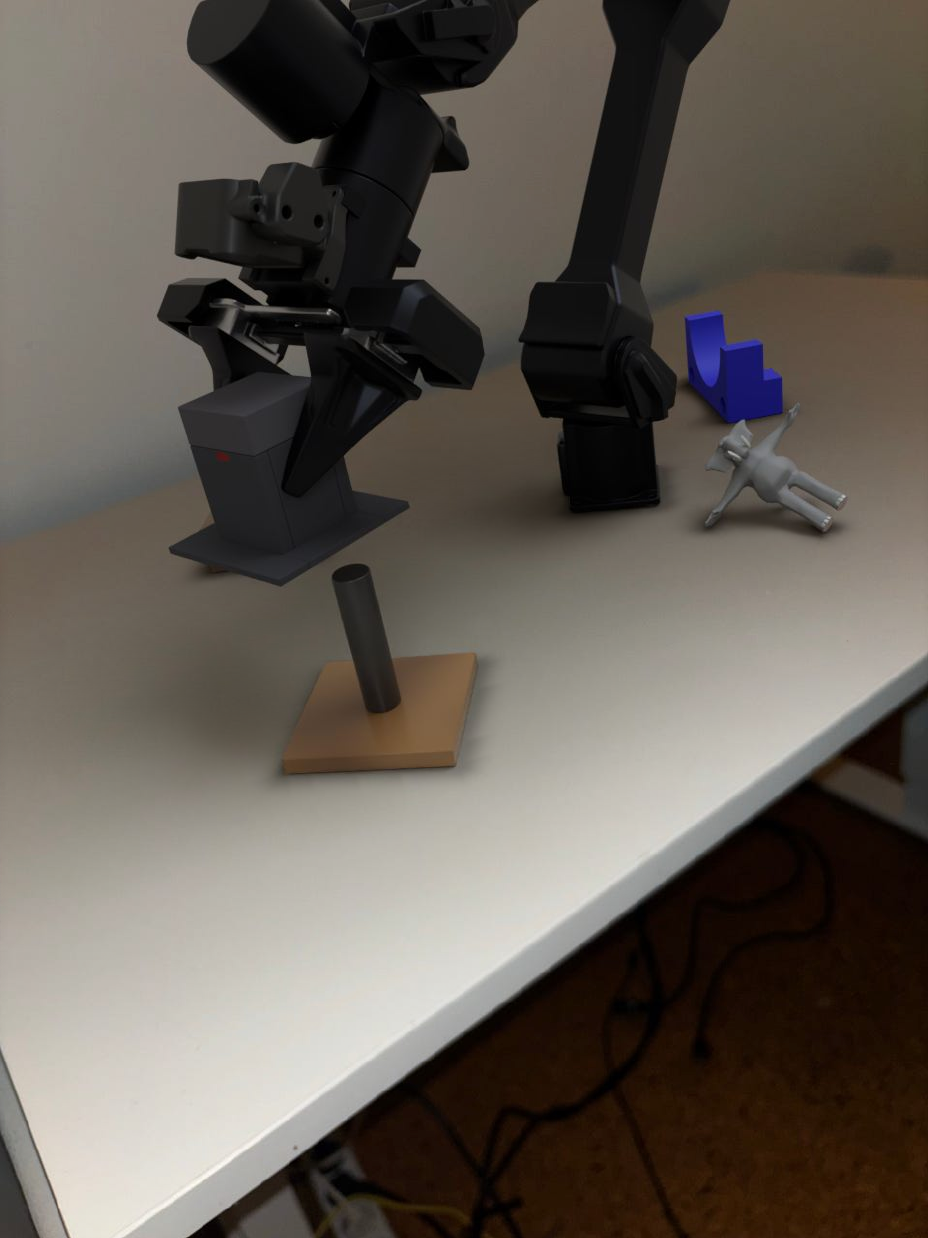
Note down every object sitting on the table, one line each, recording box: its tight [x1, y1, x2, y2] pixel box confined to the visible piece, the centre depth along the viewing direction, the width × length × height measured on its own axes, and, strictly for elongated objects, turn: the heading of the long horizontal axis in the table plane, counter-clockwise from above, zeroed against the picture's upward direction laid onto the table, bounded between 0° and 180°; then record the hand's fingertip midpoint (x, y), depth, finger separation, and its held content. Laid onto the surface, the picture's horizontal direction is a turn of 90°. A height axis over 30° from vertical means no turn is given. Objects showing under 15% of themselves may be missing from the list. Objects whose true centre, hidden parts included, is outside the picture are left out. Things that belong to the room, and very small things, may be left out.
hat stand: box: [281, 563, 479, 775], centre depth 54 cm, size 9×9×9 cm
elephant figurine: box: [704, 402, 849, 533], centre depth 67 cm, size 10×6×9 cm
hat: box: [168, 372, 411, 587], centre depth 52 cm, size 9×9×8 cm
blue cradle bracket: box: [684, 310, 784, 424], centre depth 88 cm, size 12×4×6 cm, turn 5°
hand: (253, 486), depth 51 cm, fingers closed on hat, 5 cm apart
